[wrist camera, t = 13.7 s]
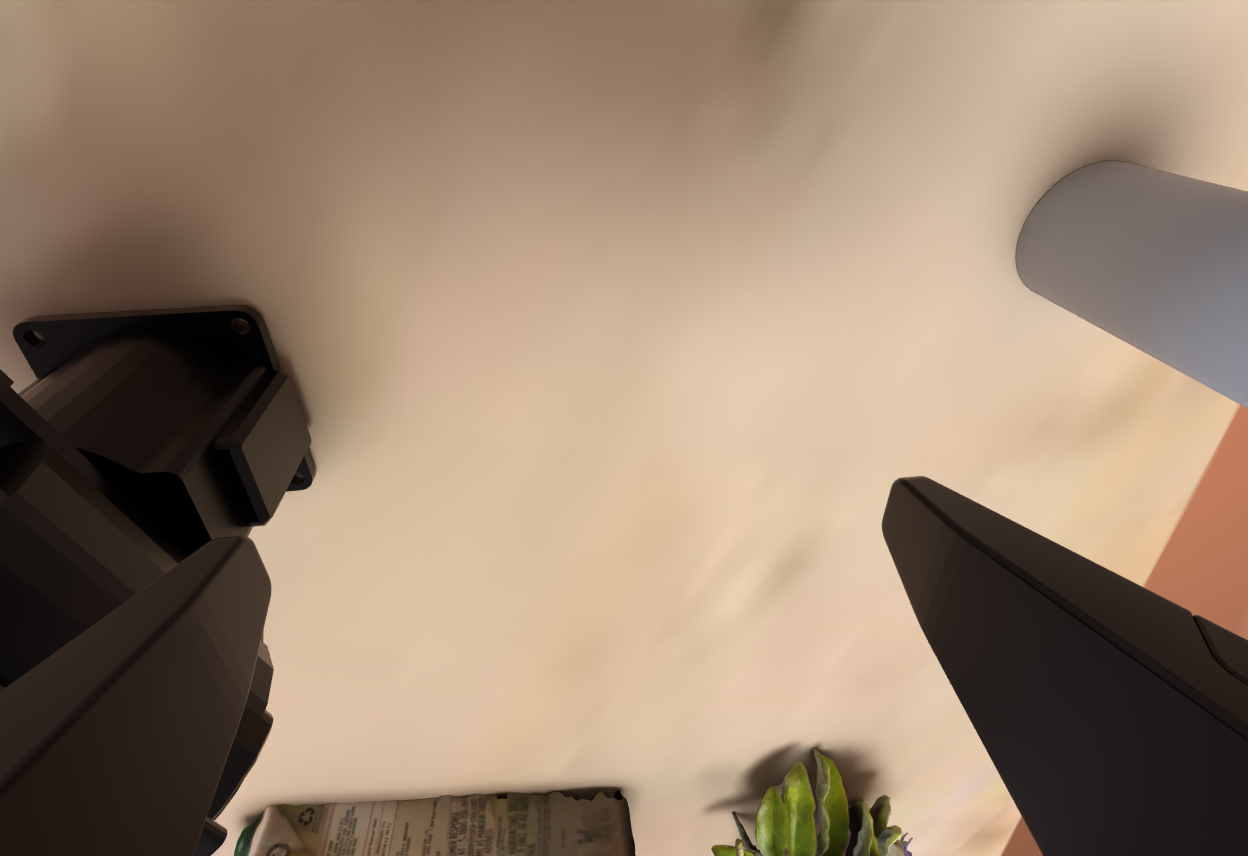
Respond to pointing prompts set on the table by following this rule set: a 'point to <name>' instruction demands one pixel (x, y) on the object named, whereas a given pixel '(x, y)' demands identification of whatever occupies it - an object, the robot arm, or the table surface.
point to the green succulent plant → (845, 838)
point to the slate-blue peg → (1148, 265)
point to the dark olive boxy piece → (446, 827)
